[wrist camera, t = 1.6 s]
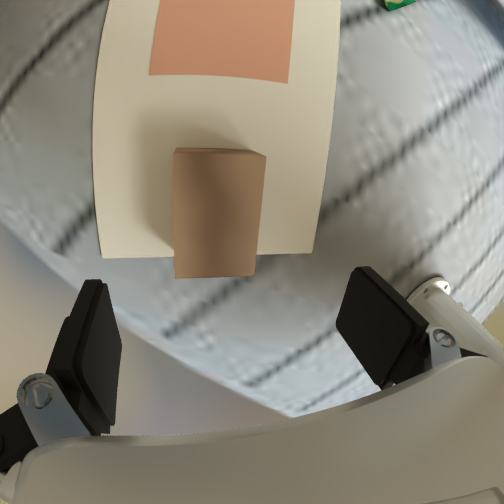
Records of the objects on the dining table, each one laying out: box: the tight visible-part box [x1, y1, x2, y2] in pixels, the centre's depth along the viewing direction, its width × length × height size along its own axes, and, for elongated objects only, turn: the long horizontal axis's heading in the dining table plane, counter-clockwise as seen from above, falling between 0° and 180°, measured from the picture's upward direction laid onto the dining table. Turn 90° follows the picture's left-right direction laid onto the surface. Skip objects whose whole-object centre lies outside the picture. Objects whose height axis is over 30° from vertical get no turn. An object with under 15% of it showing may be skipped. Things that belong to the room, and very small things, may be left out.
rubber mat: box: [93, 0, 341, 258], centre depth 19 cm, size 20×28×1 cm
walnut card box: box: [173, 148, 267, 279], centre depth 21 cm, size 6×9×4 cm, turn 175°
